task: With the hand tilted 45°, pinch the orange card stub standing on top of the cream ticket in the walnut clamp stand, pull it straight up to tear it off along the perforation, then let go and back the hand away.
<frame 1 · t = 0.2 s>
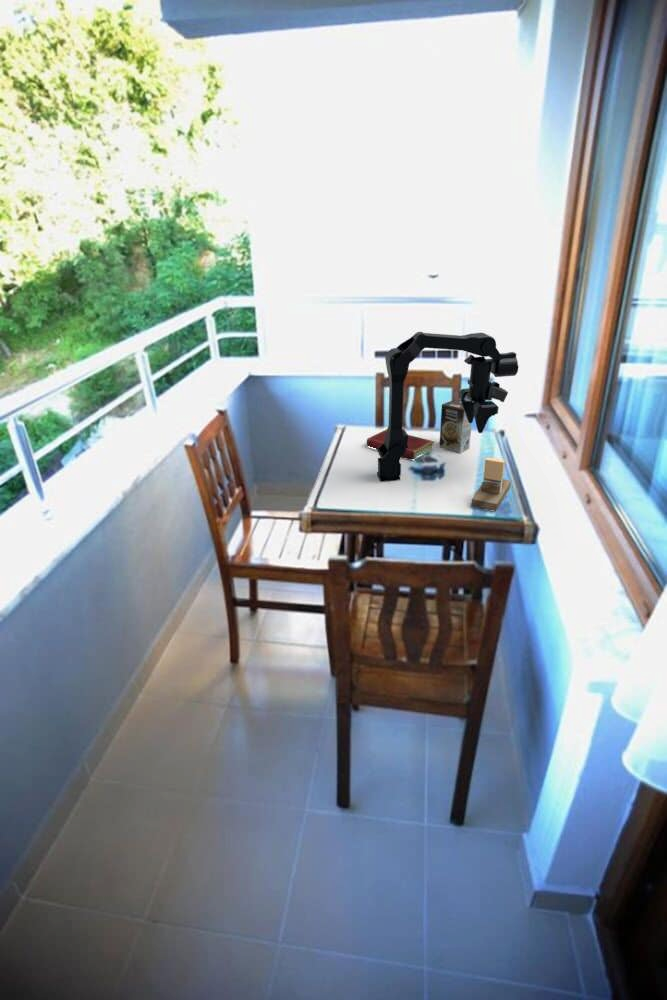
hand: (475, 427, 157), 14 cm above the table, tool pointing down, fingers open, 9 cm apart
hardcover book: (399, 450, 182), on the table
stub: (494, 469, 142), point 9 cm above the table, slide at 0.0 cm
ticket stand: (491, 497, 146), on the table
coffee box: (454, 448, 180), on the table
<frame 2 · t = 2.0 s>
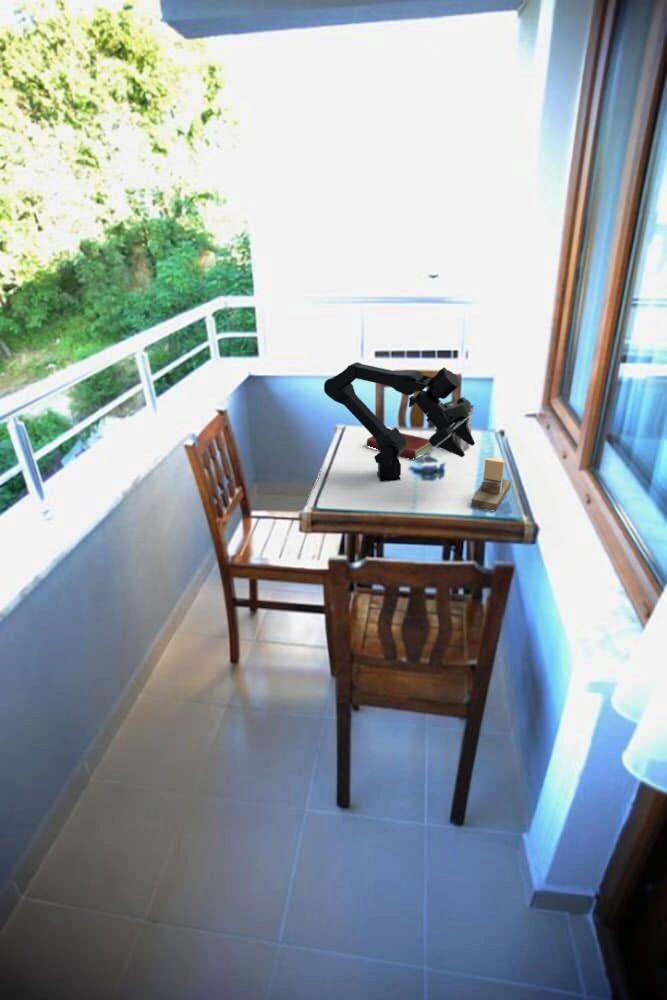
hand: (468, 450, 144), 13 cm above the table, tool tilted 45°, fingers open, 9 cm apart
nothing on the table moved.
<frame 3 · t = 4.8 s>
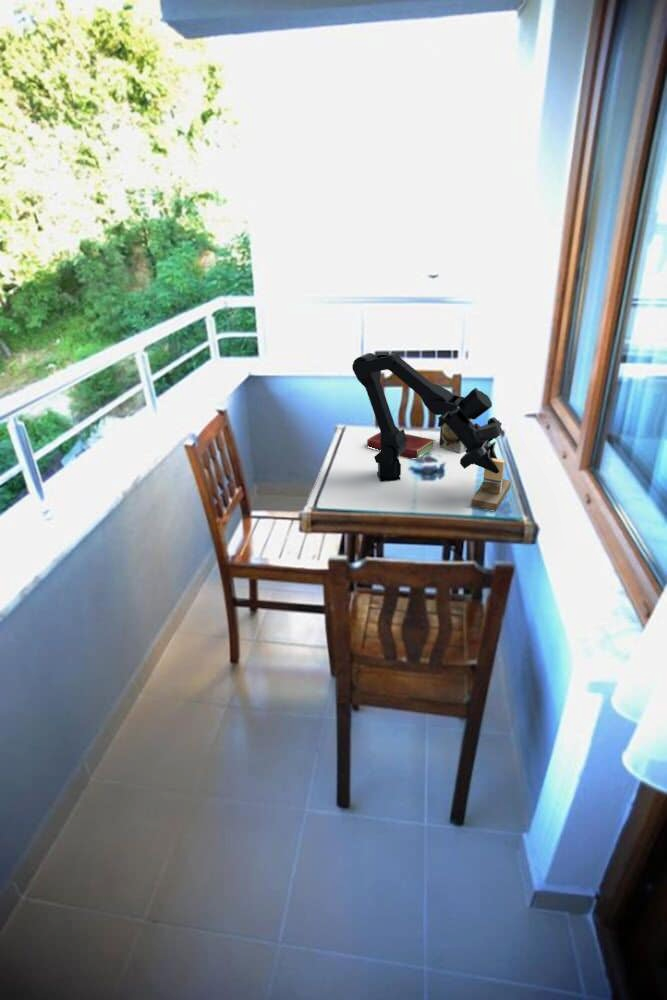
hand: (499, 471, 141), 9 cm above the table, tool tilted 45°, fingers closed on stub, 2 cm apart
stub: (494, 469, 142), point 9 cm above the table, slide at 0.0 cm, touching gripper
everything else where it was.
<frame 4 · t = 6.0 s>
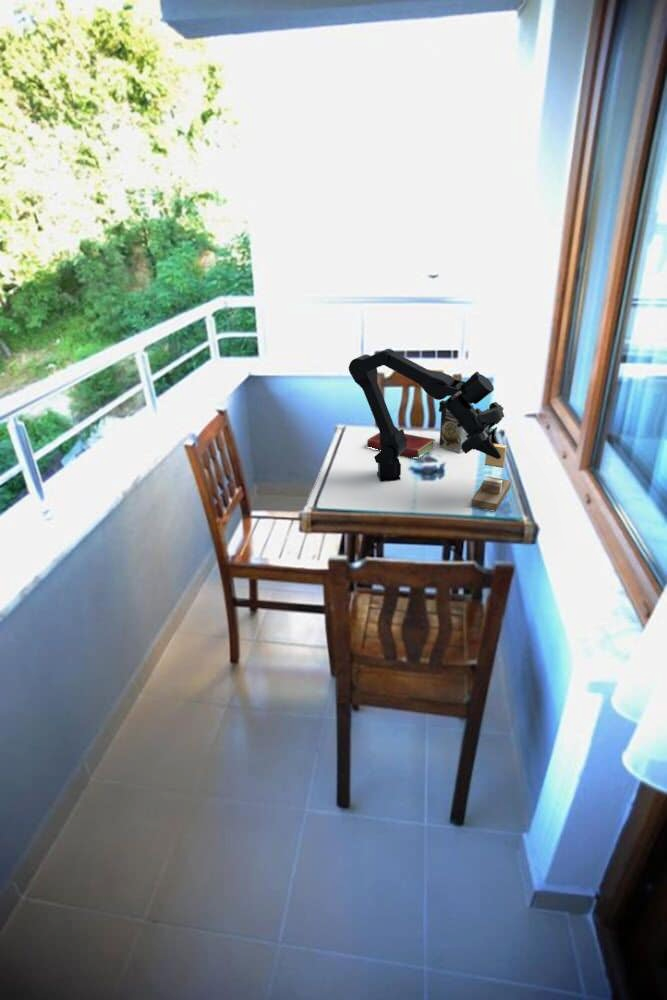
hand: (500, 456, 139), 13 cm above the table, tool tilted 45°, fingers closed on stub, 2 cm apart
stub: (495, 455, 140), point 13 cm above the table, slide at 4.4 cm, touching gripper
everything else where it was.
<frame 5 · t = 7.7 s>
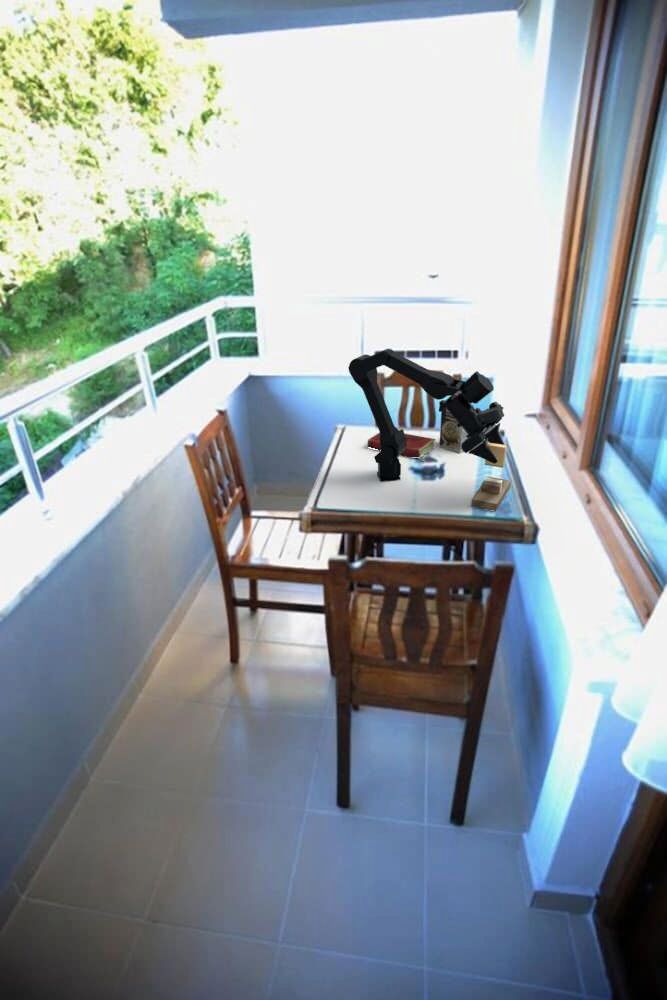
hand: (500, 456, 139), 13 cm above the table, tool tilted 45°, fingers open, 9 cm apart
stub: (495, 455, 140), point 13 cm above the table, slide at 4.4 cm
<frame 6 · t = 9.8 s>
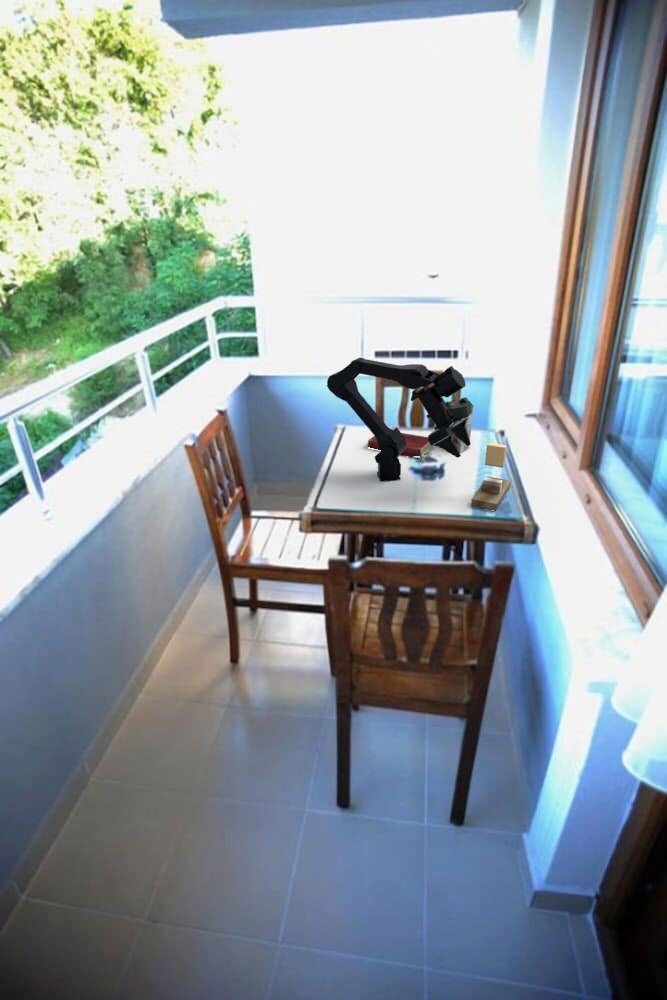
hand: (464, 451, 145), 13 cm above the table, tool tilted 35°, fingers open, 9 cm apart
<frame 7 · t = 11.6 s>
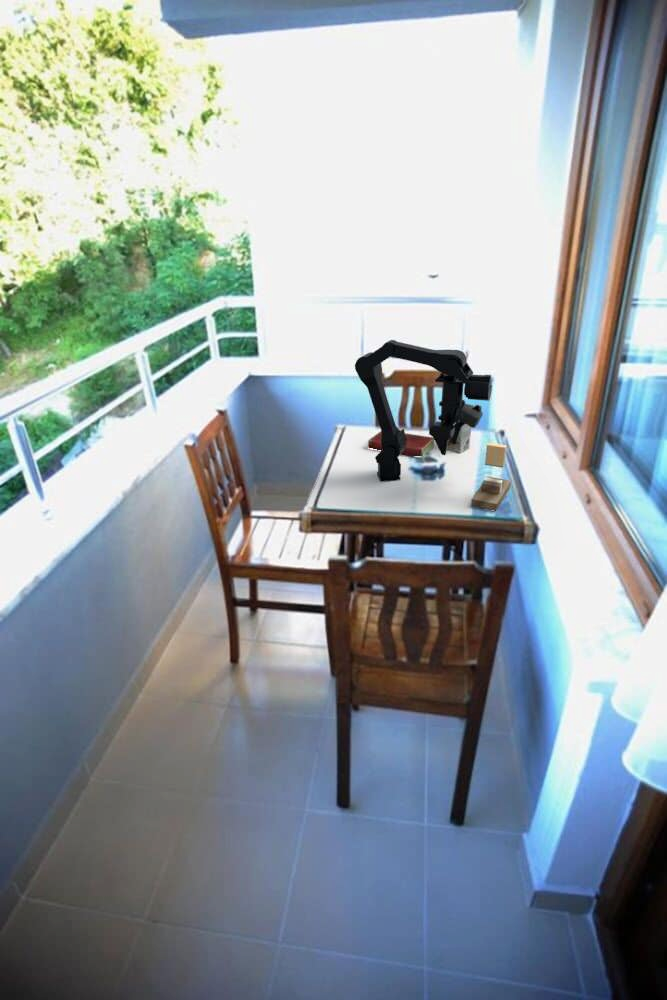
hand: (449, 449, 148), 12 cm above the table, tool pointing down, fingers open, 9 cm apart
at the end: stub slide at 4.4 cm; the gripper is holding nothing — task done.
